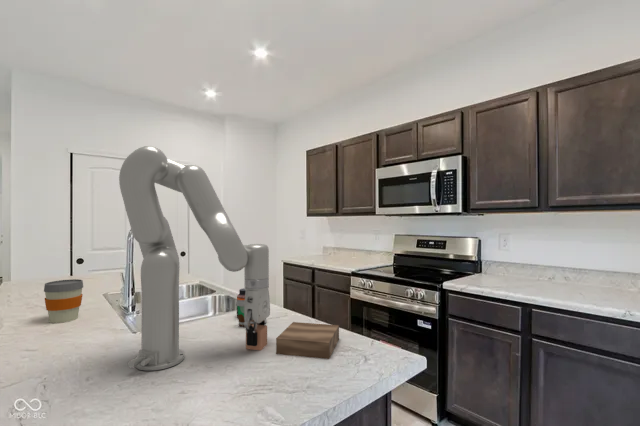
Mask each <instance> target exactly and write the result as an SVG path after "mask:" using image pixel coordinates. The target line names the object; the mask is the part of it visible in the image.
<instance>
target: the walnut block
mask: <svg viewBox="0 0 640 426" xmlns="http://www.w3.org/2000/svg"><path fill="white" fill-rule="evenodd" d="M339 340H340V325H339V324H323V323H312V322H311V323H310V322H298V321H296V322H295V321H293V322H292V323H290V324H289V325H288V327H286V329H284V330H283V331H282V332H281V333H280V334H279V335H278V336H277V337H276V339H275V353H276V355H285V356H295V357H304V358H315V359H324V360H325V359H326V360H329V359H330V358H331V356H332V354H333V352H334V350H335V349H336V346H337V344H338V342H339Z"/></svg>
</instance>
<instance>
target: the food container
mask: <svg viewBox="0 0 640 426" xmlns="http://www.w3.org/2000/svg"><path fill="white" fill-rule="evenodd" d="M244 303H245V300H237V299H236V302H235V306H236V309H237V308H238V317H237V319H238V320H237V321H238V327H241V328H245V326H244V322H245V320H244ZM250 322H254V320H251V321H250ZM251 325H254V324H251ZM258 325H259V324H258Z"/></svg>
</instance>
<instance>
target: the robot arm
mask: <svg viewBox="0 0 640 426" xmlns="http://www.w3.org/2000/svg"><path fill="white" fill-rule="evenodd" d="M121 164H122V165H121V167H120V170H119V175H118V176H119V177H118V180H119V182H118V183H119V189H120V193H121V197H122V201H123V204H124V210H125V212H126V215H127V219H128V222H129V226H130V231H131V235H132V237H133V239H134V240H135V241H136V242H137V243H138V245H139V249H140V252H141V255H142V257H143V259H142V262H141V265H140V286H141V287H140V288H141V289H140V290H141V338H140V339H141V349H140V350H138V355H137V356H136V357H135V358H132V359H131V360H129V361H128V363H127V366H128V367H129V368H130V369H133V368H136V369H138V370H141V371H145V372H147V371H148V372H149V371H150V372H151V371H160V370H165V369H168V368H172V367H174V366H177V365H178V364H180V363H182V362H183V361H184V360H185V351H184V350H182V349H180V257H179V254H178V250H177V247H176V244H175V240H174V237H173V233H172V229H171V227H170V224H169V222H168V220H167V218H166V217H165V216H164V214H163V211H162V208H161V205H160V201H159V197H158V193H157V189H156V186H155V184H157V185H160V186H163V187H164V188H168V189H171V190H172V191H175V192H179V193H181V194H182V195H183V197H184V199H185V201H186V202H187V204H188V206H189V208H190V210H191V212H192V214H193V216H194V218H195V220H196V222H197V224H198V226H199V227H200V228H201V230H202V231H204V233H205V235H206V236H207V237H208V239H209V242H210V243H211V244H212V247H213V248H214V250H215V252H216V254H217V258H218V261H219V263H220V264H221V265H222V267H223V268H224V269H226V270H227V271H229V272H232V273H233V272H234V273H236V272H240V271H241V270H243V269H244V271H243V272H244V274H243V275H244V287H243V288H244V289H245V290H246V292H245V303H244V320H245V322H244V326H245V327H244V328H245V334H246V333H247V345H249V346H256V345H257V332H256V328H257V325H258V324H259V325H266V326H267V318H269V316H270V315H271V303H270V302H271V301H270V299H271V298H270V290H269V289H270V287H269V285H270V280H269V279H270V278H269V277H270V273H269V272H270V265H269V264H270V263H269V262H270V259H269V258H270V257H269V256H270V255H269V254H270V253H269V252H270V251H269V246H268V245H267V244H265V243H254V244H253V243H251V244H243V241H242V240H241V238H240V236H239V234H238V233H237V231H236V229H235V227H234V225H233V223H232V222H231V220H230V217H229V216H228V213H227V212H226V209H225V208H224V206H223V204H222V203H221V200H220V198H219V195H217V192H216V190H215V188H214V187H213V185H212V182H211V180H210V179H209V177H208V175H207V173H206V171H205V170H204V169H203V168H202V167H200V166H199V165H196V164H195V165H194V164H188V165H184V164H181V163H178V162H176V161H174V160H172V159H169V158H168V157H167V155H166V154H165V153H164V152H163V151H162V150H161V149H160V148H157V146H152V145H145V146H140V147H138V148H137V149H135V150H134V151H132V152H131V153H130V154H128V155H127V157H126V158H125V159H124V161H123V163H121ZM251 320H254V322H250V321H251ZM251 324H254V327H253V326H252V325H251Z"/></svg>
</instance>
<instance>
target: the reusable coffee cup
mask: <svg viewBox="0 0 640 426" xmlns="http://www.w3.org/2000/svg"><path fill="white" fill-rule="evenodd" d="M83 289H84V282H83V279H80V278H79V279H76V278H75V279H73V278H72V279H61V280H59V279H58V280H53V281H49V282H45V283H44V285H43V292H44V295H45V297H44V303H45V310H46V311H47V315H48V321H49V323H50V324H62V323H69V322H72V321H76V320H77V319H78V317H79V311H80V307H81V305H82V300H83V293H82V292H83Z"/></svg>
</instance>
